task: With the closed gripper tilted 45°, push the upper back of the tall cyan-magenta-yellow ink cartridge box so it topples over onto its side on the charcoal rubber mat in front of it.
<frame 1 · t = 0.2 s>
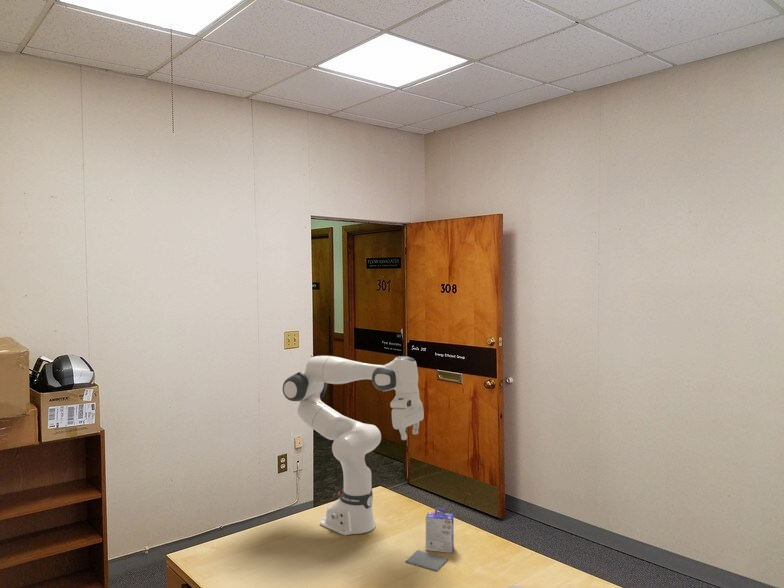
hand: (410, 436, 206), 39 cm above the table, tool pointing down, fingers open, 8 cm apart
ink cartridge box: (439, 549, 201), on the table
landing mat: (426, 561, 192), on the table
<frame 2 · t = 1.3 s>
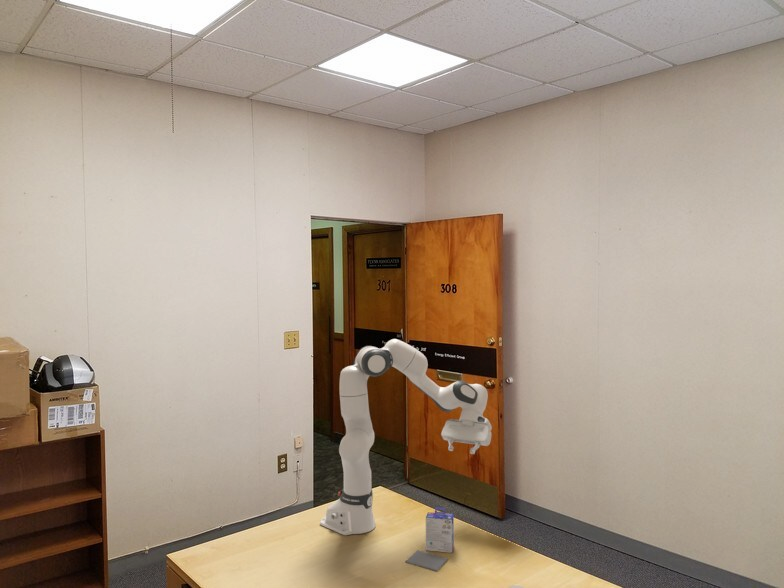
hand: (460, 451, 216), 30 cm above the table, tool tilted 45°, fingers open, 8 cm apart
nothing on the table moved.
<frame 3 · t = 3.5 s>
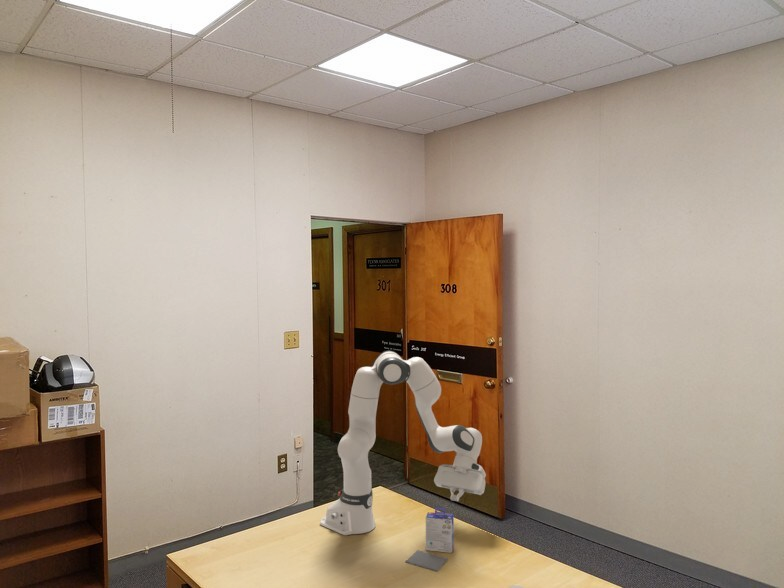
hand: (454, 500, 211), 13 cm above the table, tool tilted 45°, fingers closed
nothing on the table moved.
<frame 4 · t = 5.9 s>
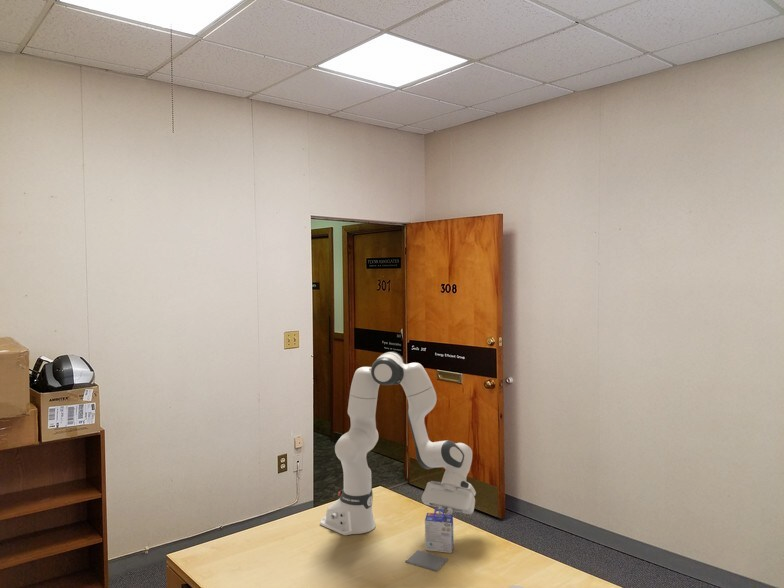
hand: (442, 519, 202), 10 cm above the table, tool tilted 45°, fingers closed
ink cartridge box: (439, 547, 201), on the table, touching gripper
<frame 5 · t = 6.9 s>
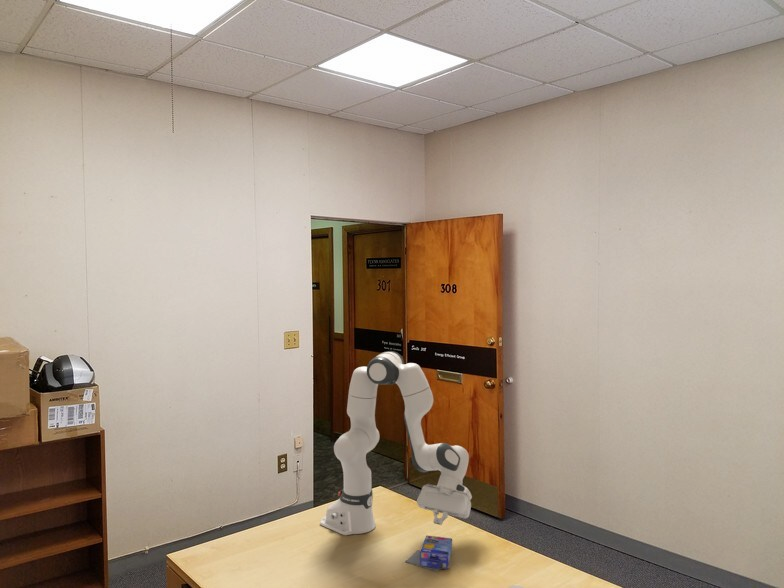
hand: (437, 523, 199), 10 cm above the table, tool tilted 45°, fingers closed
ink cartridge box: (439, 542, 198), point 3 cm above the table, touching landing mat
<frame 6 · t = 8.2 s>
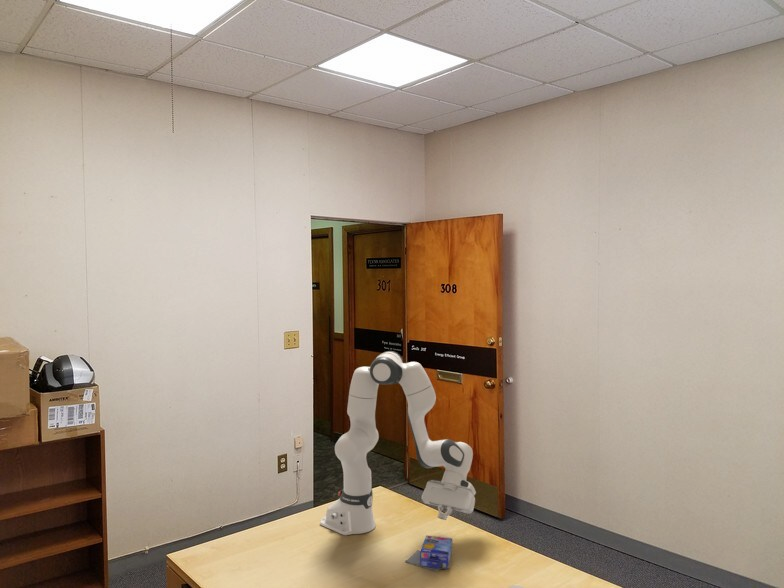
hand: (441, 518, 202), 10 cm above the table, tool tilted 45°, fingers closed
nothing on the table moved.
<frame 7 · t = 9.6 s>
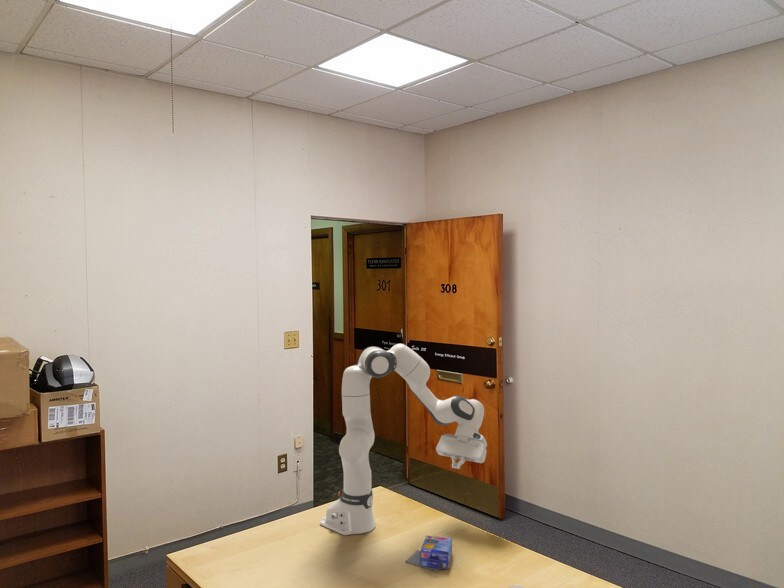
hand: (455, 467, 216), 24 cm above the table, tool tilted 45°, fingers closed
nothing on the table moved.
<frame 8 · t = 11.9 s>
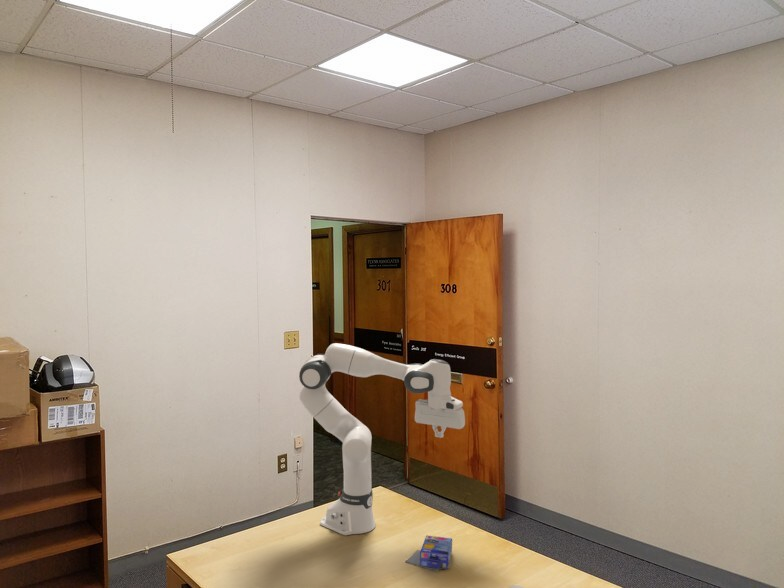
hand: (439, 436, 213), 37 cm above the table, tool pointing down, fingers closed
nothing on the table moved.
at the end: ink cartridge box tilted 92°; ink cartridge box touching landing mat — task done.
